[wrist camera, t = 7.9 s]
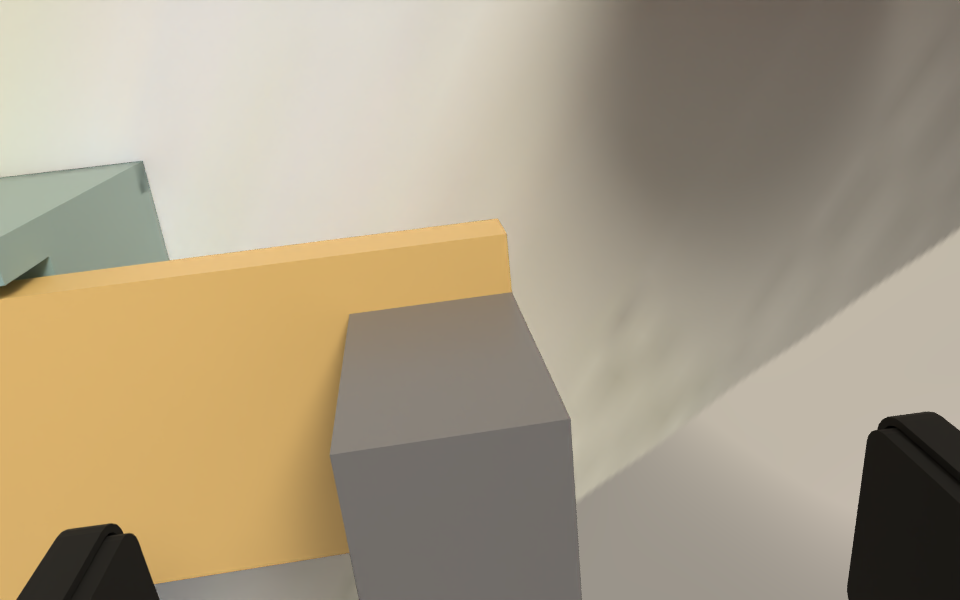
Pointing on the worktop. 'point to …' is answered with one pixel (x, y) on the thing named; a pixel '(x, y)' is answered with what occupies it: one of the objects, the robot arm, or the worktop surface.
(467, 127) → the worktop surface
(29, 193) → the tub
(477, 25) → the worktop surface
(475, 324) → the lid
